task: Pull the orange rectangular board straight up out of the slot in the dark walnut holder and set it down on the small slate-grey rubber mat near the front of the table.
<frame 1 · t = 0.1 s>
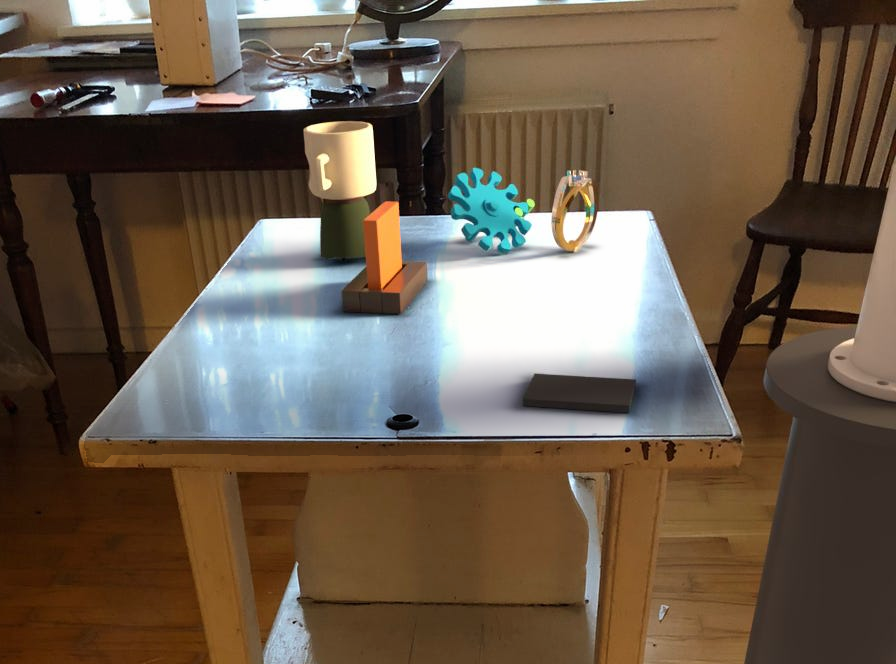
holder: (386, 296, 96), on the table
ring: (573, 253, 105), on the table
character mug: (349, 260, 107), on the table
orange rectangular board: (383, 254, 94), in the holder
mat: (579, 396, 75), on the table
gear: (493, 248, 108), on the table
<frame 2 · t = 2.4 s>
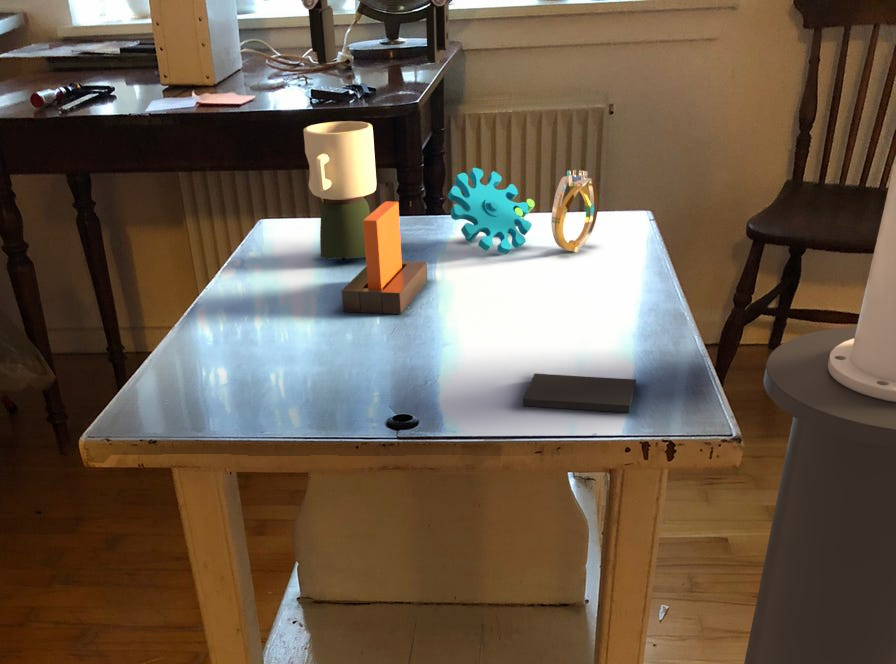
hand: (380, 61, 83), 20 cm above the table, tool pointing down, fingers open, 9 cm apart
nothing on the table moved.
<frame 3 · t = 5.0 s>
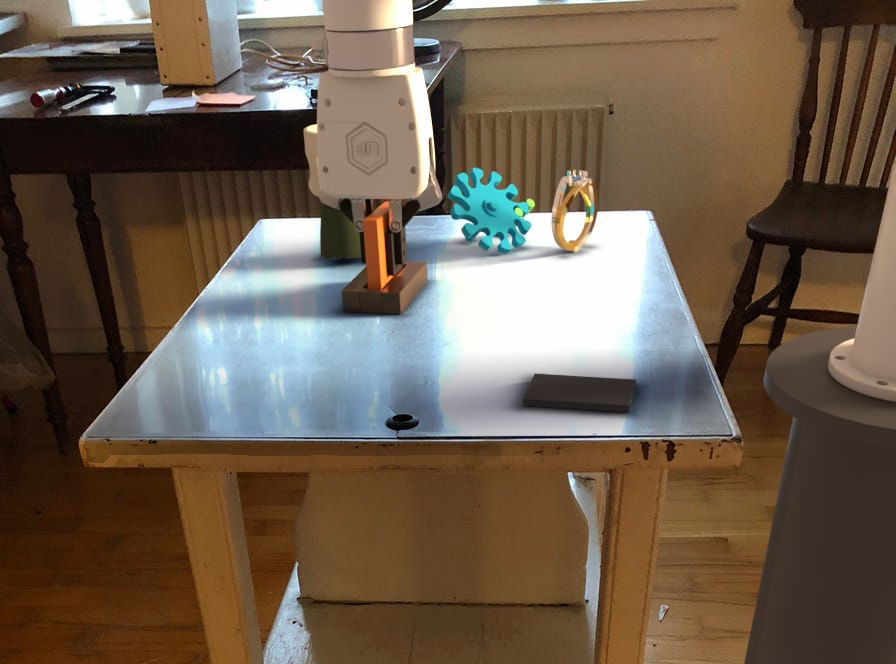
hand: (385, 270, 95), 3 cm above the table, tool pointing down, fingers closed on orange rectangular board, 1 cm apart
orange rectangular board: (384, 254, 94), in the holder, touching gripper
everything else where it was.
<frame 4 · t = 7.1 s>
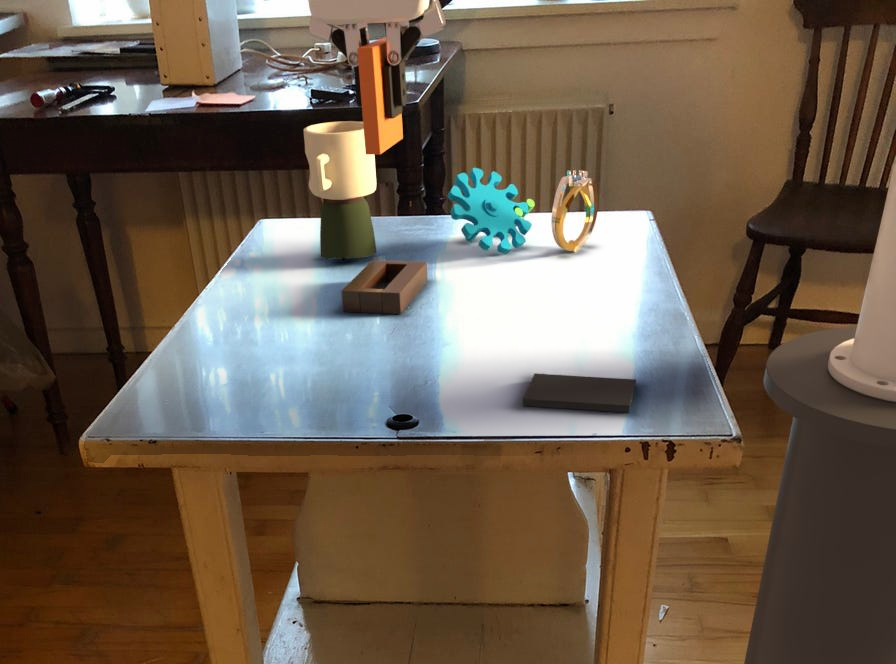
hand: (382, 114, 86), 16 cm above the table, tool pointing down, fingers closed on orange rectangular board, 1 cm apart
orange rectangular board: (381, 95, 85), point 18 cm above the table, touching gripper
everything else where it was.
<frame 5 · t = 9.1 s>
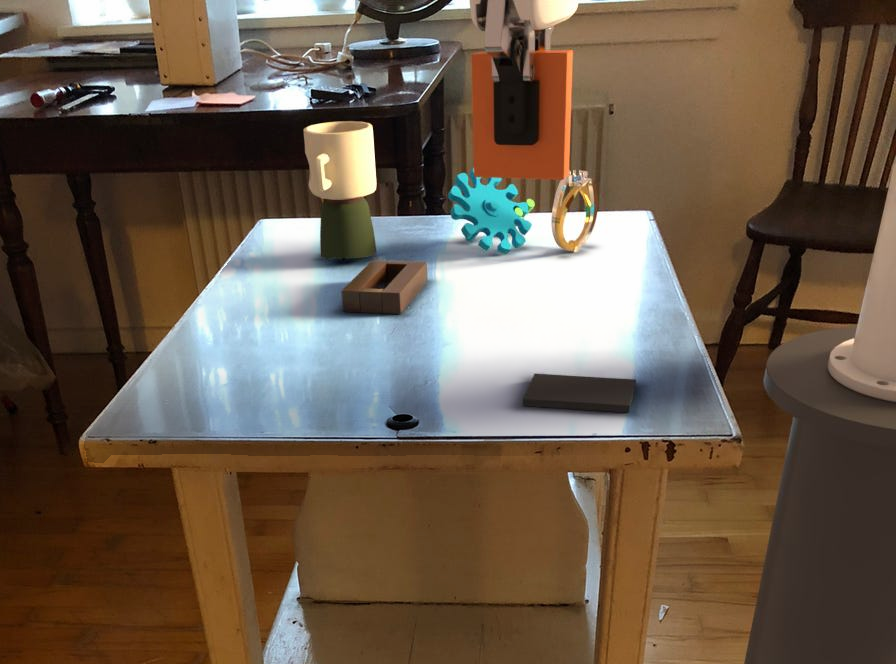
hand: (521, 139, 71), 17 cm above the table, tool pointing down, fingers closed on orange rectangular board, 1 cm apart
orange rectangular board: (521, 116, 70), point 18 cm above the table, touching gripper
everything else where it was.
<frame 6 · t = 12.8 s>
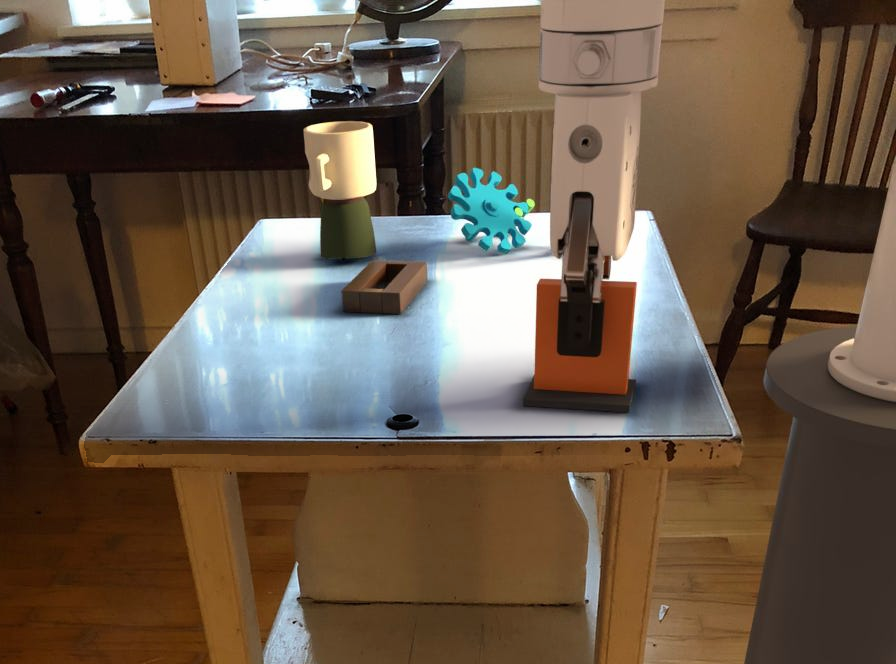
hand: (582, 342, 72), 4 cm above the table, tool pointing down, fingers open, 3 cm apart
orange rectangular board: (583, 337, 72), on the mat, point 5 cm above the table
everything else where it was.
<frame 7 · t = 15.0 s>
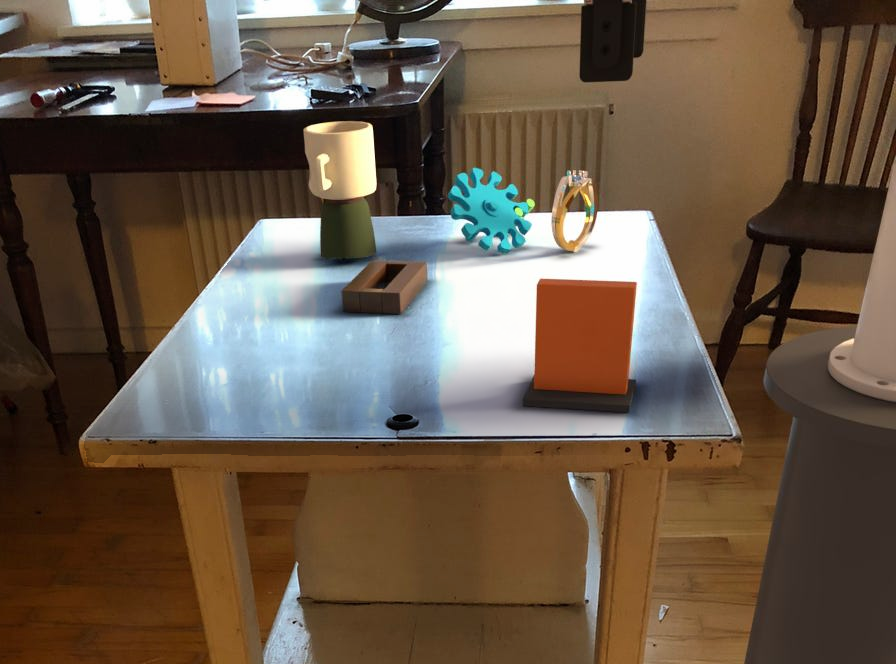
hand: (612, 68, 64), 22 cm above the table, tool pointing down, fingers open, 9 cm apart
nothing on the table moved.
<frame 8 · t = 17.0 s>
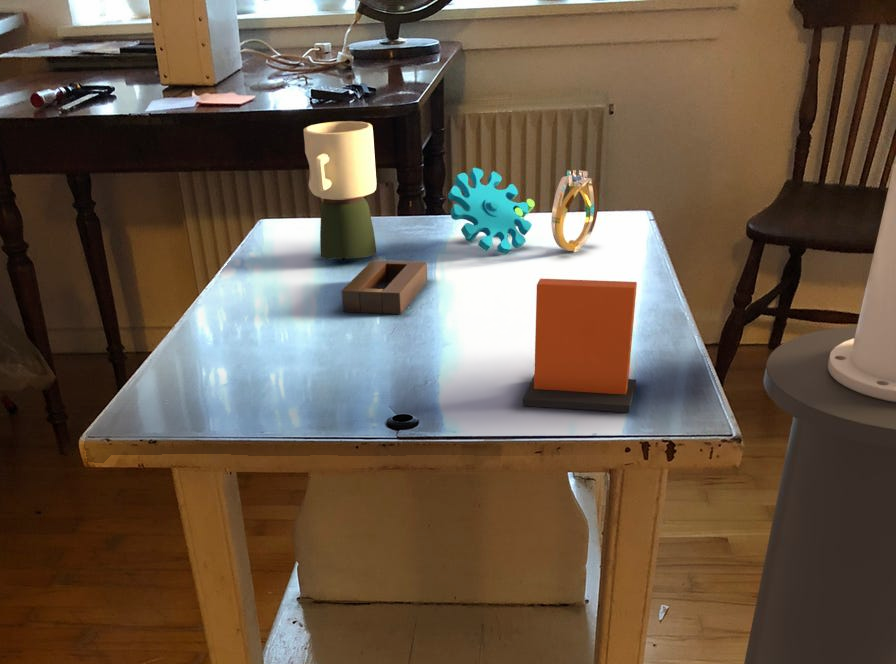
nothing on the table moved.
at the end: orange rectangular board inside the target area on the mat (0.0 cm from its centre), point 4.6 cm above the mat's base; orange rectangular board touching mat; the gripper is holding nothing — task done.
